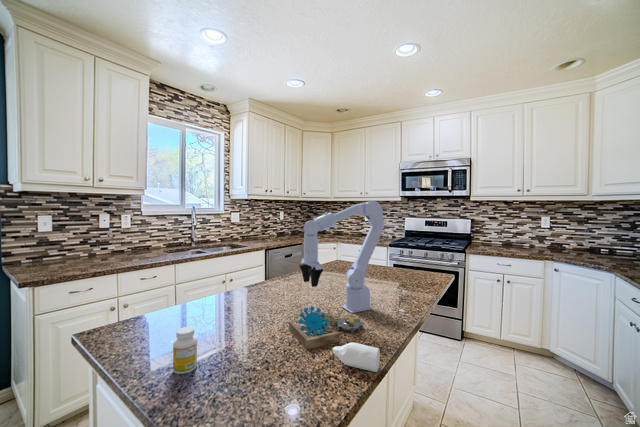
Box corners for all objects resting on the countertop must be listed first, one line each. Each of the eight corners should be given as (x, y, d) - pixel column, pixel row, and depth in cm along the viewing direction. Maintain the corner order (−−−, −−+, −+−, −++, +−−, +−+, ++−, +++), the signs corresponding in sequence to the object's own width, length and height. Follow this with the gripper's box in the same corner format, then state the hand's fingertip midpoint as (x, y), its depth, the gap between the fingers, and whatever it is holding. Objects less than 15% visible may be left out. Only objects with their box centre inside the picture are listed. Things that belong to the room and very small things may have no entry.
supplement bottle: (178, 362, 73) (178, 325, 72) (200, 361, 73) (200, 325, 73) (169, 375, 67) (169, 335, 67) (192, 374, 68) (192, 334, 68)
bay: (318, 323, 98) (318, 316, 98) (339, 341, 85) (339, 332, 85) (288, 329, 93) (288, 321, 93) (306, 349, 80) (306, 340, 80)
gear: (300, 335, 85) (298, 304, 92) (295, 343, 89) (293, 312, 96) (334, 335, 89) (329, 306, 95) (327, 342, 92) (323, 313, 99)
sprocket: (332, 321, 100) (333, 308, 100) (357, 320, 101) (357, 307, 101) (339, 333, 90) (339, 320, 90) (366, 332, 91) (366, 318, 91)
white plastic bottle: (336, 355, 77) (336, 335, 77) (379, 364, 73) (380, 343, 73) (328, 366, 72) (329, 344, 72) (375, 377, 67) (376, 354, 67)
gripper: (294, 248, 117) (294, 280, 117) (309, 253, 104) (309, 290, 104) (310, 247, 120) (309, 278, 120) (326, 252, 107) (325, 287, 107)
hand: (310, 283), depth 112 cm, fingers open, 7 cm apart
